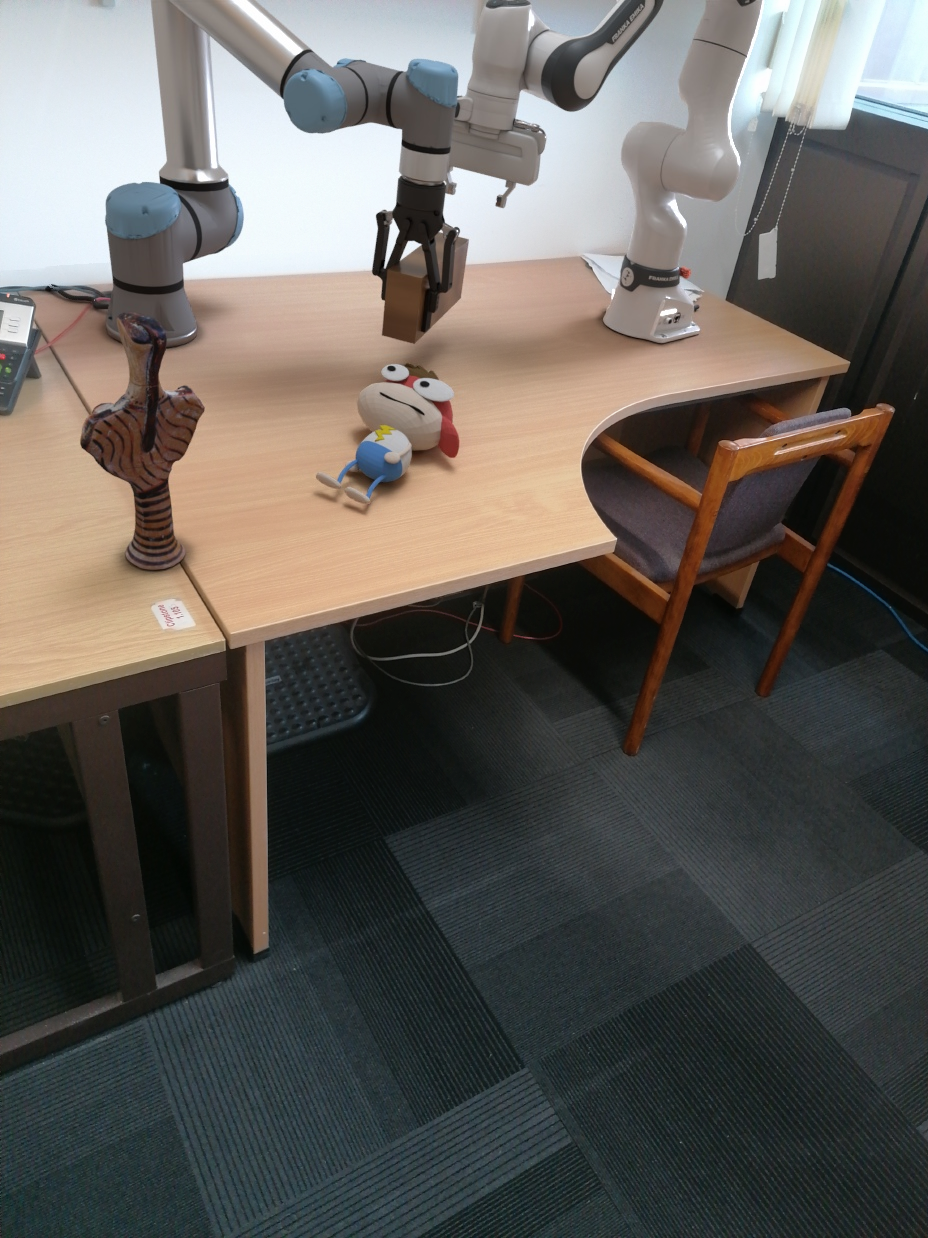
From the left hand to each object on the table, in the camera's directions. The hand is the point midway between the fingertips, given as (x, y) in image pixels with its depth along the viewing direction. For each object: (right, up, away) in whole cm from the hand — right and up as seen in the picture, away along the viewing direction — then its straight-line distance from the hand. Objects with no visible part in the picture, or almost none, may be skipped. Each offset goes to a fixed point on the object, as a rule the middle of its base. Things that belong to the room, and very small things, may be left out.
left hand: (407, 324), depth 151 cm
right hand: (+12, +24, +6) cm, 27 cm away
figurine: (-28, -42, -43) cm, 67 cm away
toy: (-2, -26, -17) cm, 31 cm away
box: (+2, +4, +8) cm, 9 cm away
